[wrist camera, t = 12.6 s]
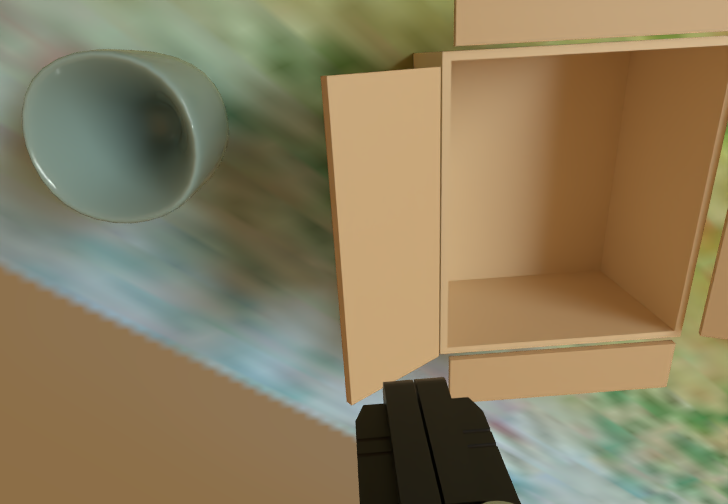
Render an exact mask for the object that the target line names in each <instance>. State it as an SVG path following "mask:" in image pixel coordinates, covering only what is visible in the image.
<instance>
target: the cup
mask: <svg viewBox="0 0 728 504" xmlns="http://www.w3.org/2000/svg"><path fill="white" fill-rule="evenodd" d="M22 129H23V134H24V139H25V144H26V148H27V150H28V153H29V156H30V159H31V161H32V164H33V166H34V167H35V169H36V171H37V173H38V174H39V176H40V178H41V180H42V181H43V182H44V183H45V185H46V186H47V187H48V188H49V190H50V191H51V192H52V193H53V194H54V195H55V196H56V197H57V198H58V199H59V200H61V201H62V202H63V203H64V204H65V205H67V206H68V207H70V208H72V209H74V210H75V211H77V212H79V213H80V214H83V215H86V216H89V217H91V218H94V219H97V220H102V221H107V222H113V223H136V222H144V221H149V220H152V219H155V218H159V217H162V216H165V215H166V214H168V213H170V212H172V211H174V210H176V209H177V208H179V207H180V206H182V205H183V204H184V203H185V202H186V201H187V200H188V199H190V198H191V197H192V196H193V195H194V194H195V193H196V192H197V191H198V190H199V189H200V188H201V187H202V186H203V185H204V184H205V183H206V182H207V181H208V180H209V179H210V178H211V177H212V175H213V174H214V173H215V171H216V169H217V168H218V166H219V165H220V163H221V161H222V159H223V157H224V154H225V151H226V148H227V144H228V136H229V125H228V116H227V111H226V106H225V104H224V101H223V99H222V96H221V94H220V92H219V91H218V89H217V87H216V86H215V84H214V83H213V82H212V81H211V80H210V79H209V77H208V76H207V75H206V74H205V73H204V72H202V71H201V70H200V69H198V68H197V67H195V66H194V65H192V64H190V63H188V62H186V61H184V60H181V59H179V58H177V57H174V56H170V55H165V54H161V53H157V52H151V51H138V50H120V49H97V50H89V51H81V52H76V53H73V54H70V55H67V56H64V57H61V58H58V59H57V60H55V61H53V62H52V63H50V64H49V65H47V66H45V67H44V68H42V70H41V71H40V72H39V73H38V74H37V75H36V76H35V77H34V78H33V79H32V81H31V83H30V85H29V87H28V89H27V91H26V94H25V98H24V103H23V108H22Z"/></svg>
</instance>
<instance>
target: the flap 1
mask: <svg viewBox="0 0 728 504" xmlns="http://www.w3.org/2000/svg"><path fill="white" fill-rule="evenodd" d="M321 86H322V99H323V111H324V124H325V136H326V149H327V161H328V174H329V186H330V199H331V211H332V223H333V236H334V248H335V261H336V273H337V286H338V298H339V311H340V323H341V336H342V348H343V361H344V373H345V386H346V398H347V402H348V403H349V404H351V405H353V404H355V403H357V402H359V401H360V400H362V399H364V398H366V397H367V396H369V395H371V394H373V393H375V392H376V391H378V390H380V389H382V388H383V382H389V381H396V380H398V379H399V378H401V377H403V376H405V375H406V374H408V373H410V372H412V371H414V370H415V369H417V368H419V367H421V366H422V365H424V364H426V363H428V362H429V361H431V360H433V359H435V358H437V357H438V356H439V264H440V98H441V67H428V68H416V69H403V70H391V71H379V72H367V73H354V74H342V75H330V76H321Z"/></svg>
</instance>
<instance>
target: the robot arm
mask: <svg viewBox="0 0 728 504" xmlns="http://www.w3.org/2000/svg"><path fill="white" fill-rule="evenodd" d="M383 401H384V404H373V405H363V407H362V409H361V411H360V413H359V415H358V417H357V419H356V440H357V458H358V478H359V497H360V504H521V503H520V501H519V498H518V496H517V494H516V491H515V489H514V486H513V484H512V481H511V479H510V476H509V474H508V471H507V469H506V467H505V464H504V462H503V459H502V457H501V454H500V452H499V449H498V447H497V446H496V442H495V440H494V437H493V435H492V432H490V427H489V425H488V422H487V420H486V417H485V415H484V413H483V411H482V410H481V409H480V408H479V407H478V406H477V405H476V404H475V403H474V402H473V401H472V400H471V399H470V398H469V397H462V398H451V395H450V392H449V389H448V386H447V383H446V380H445V378H444V377H440V378H427V379H414V383H413V380H402V381H389V382H383Z"/></svg>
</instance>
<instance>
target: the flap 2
mask: <svg viewBox="0 0 728 504" xmlns="http://www.w3.org/2000/svg"><path fill="white" fill-rule="evenodd" d="M699 334H700V336H705V337H713V338H721V339H728V210H727V214H726V219H725V223H724V227H723V231H722V236H721V240H720V244H719V248H718V253H717V257H716V261H715V265H714V270H713V274H712V278H711V282H710V287H709V291H708V295H707V299H706V304H705V308H704V312H703V316H702V321H701V325H700V329H699Z"/></svg>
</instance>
